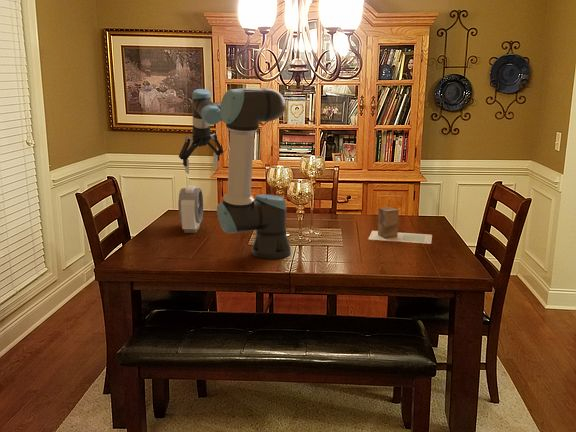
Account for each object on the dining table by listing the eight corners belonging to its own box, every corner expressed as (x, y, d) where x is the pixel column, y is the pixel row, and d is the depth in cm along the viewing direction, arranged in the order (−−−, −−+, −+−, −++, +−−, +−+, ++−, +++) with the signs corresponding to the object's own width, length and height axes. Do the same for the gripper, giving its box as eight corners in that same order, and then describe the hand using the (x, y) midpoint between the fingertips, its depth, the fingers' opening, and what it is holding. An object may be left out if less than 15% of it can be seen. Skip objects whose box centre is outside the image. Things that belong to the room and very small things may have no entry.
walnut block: (397, 236, 250) (398, 209, 247) (385, 238, 247) (386, 211, 245) (389, 233, 255) (390, 206, 252) (377, 235, 253) (378, 208, 250)
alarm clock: (198, 235, 256) (196, 189, 251) (178, 235, 256) (176, 189, 251) (204, 224, 274) (203, 182, 269) (186, 224, 274) (184, 182, 269)
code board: (431, 245, 240) (431, 243, 240) (367, 240, 247) (368, 239, 247) (432, 236, 253) (432, 234, 253) (372, 232, 260) (372, 230, 260)
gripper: (224, 118, 259) (223, 162, 270) (170, 125, 248) (171, 170, 259) (231, 124, 254) (230, 168, 265) (176, 132, 242) (177, 178, 253)
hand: (201, 169), depth 262 cm, fingers open, 13 cm apart
